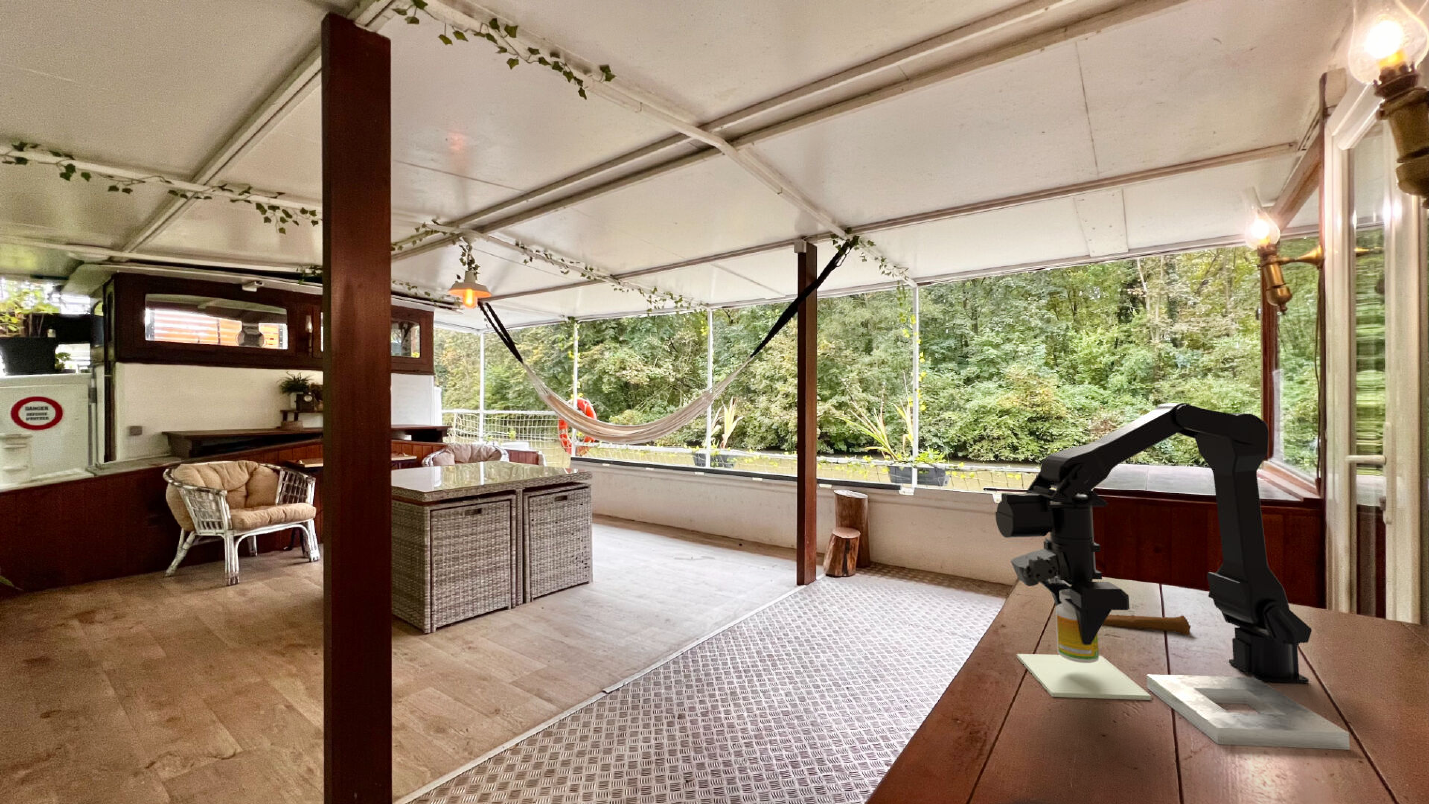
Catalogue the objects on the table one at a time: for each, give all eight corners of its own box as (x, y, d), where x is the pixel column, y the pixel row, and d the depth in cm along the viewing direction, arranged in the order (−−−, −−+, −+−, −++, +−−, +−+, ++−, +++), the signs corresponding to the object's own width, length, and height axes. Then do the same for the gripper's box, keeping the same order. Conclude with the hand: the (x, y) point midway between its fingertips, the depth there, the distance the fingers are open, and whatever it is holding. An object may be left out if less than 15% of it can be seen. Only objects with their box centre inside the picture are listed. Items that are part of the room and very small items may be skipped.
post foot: (1254, 691, 81) (1253, 677, 81) (1349, 749, 67) (1348, 732, 67) (1147, 688, 83) (1146, 674, 83) (1218, 744, 69) (1217, 727, 69)
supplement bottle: (1103, 666, 83) (1099, 600, 83) (1061, 661, 85) (1057, 597, 85) (1094, 651, 88) (1090, 589, 88) (1054, 647, 90) (1051, 586, 90)
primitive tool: (1065, 623, 109) (1064, 605, 109) (1063, 614, 114) (1062, 596, 114) (1193, 640, 99) (1192, 620, 99) (1185, 629, 104) (1184, 610, 104)
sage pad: (1101, 659, 92) (1101, 655, 92) (1150, 699, 79) (1150, 695, 79) (1017, 657, 94) (1016, 653, 94) (1052, 696, 81) (1051, 692, 81)
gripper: (995, 523, 98) (1000, 614, 97) (1041, 550, 79) (1047, 662, 79) (1064, 522, 96) (1069, 614, 96) (1128, 549, 77) (1135, 664, 77)
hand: (1077, 636), depth 87 cm, fingers closed on supplement bottle, 5 cm apart
